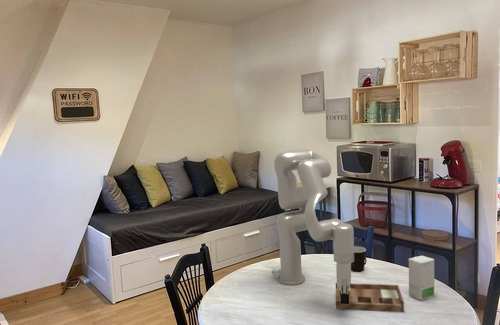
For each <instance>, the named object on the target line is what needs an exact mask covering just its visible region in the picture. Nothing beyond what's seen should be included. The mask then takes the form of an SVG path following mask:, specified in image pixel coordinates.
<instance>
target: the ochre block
mask: <svg viewBox="0 0 500 325" xmlns="http://www.w3.org/2000/svg"><path fill="white" fill-rule="evenodd" d="M340 292H341V288H339V301H341V299H340ZM348 292H349V302H351V290H350V289H348Z"/></svg>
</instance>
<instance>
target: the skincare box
mask: <svg viewBox="0 0 500 325" xmlns="http://www.w3.org/2000/svg"><path fill="white" fill-rule="evenodd" d="M408 296H410V297H411V298H414V299H416V300H419V301H425V300H427V299H430V298H435V259H434V258H432V257H429V256H425V255H419V256H414V257H411V258H408Z"/></svg>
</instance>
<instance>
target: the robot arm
mask: <svg viewBox="0 0 500 325" xmlns="http://www.w3.org/2000/svg"><path fill="white" fill-rule="evenodd" d="M273 162H274V163H273V166H274V172H275V175H276V180H277V194H278V196H277V197H278V204H279V206H280V209H281V210H291V211H286V212H282V213H281V214H278V216H277V218H276V222H275V223H276V227H277V233H278V239H279V243H278V244H279V259H280V260H279V261H280V264H279V265H280V269H278V270H277V269H271V272H270V273H271V275H272V276H274V277H277V281H278V282H279V283H281V284H283V285H287V286H294V285H301V284H302V283H304V282H306V276H305V275H304V274H303V273H302V250H301V249H302V248H301V247H302V246H301V240H300V238H299V237H298V236H297V234H296V233H299V232H303V231H308V234H309V236H310V238H311V239H312V240H313V241H315V242H319V243H320V242H325V241H328V240H333V242H332V244H333V262H334V263H336V268H335V269H336V283H337V288H338V289H339V288H341V292H340V299H341V304H349V292H348V289H350V284H352V283H351V281H352V271H351V263H352V262H354V247H355V238H354V237H355V236H354V234H355V232H354V230H355V229H354V227H353V225H352V224H351V223H345V222H343V221H342V220H341V219H339V218H331V219H325V220H320V221H319V220H318V217H317V215H316V206H317V205H318V203H320V201H322V200H323V199H325V198H326V196H328V193H329V192H328V189H327V188H326V184H325V182H324V178H328V177H330V175H331V174H332V166H331V164H330V161H328V160H327V159H326V158H325V157H324V156H323V155H320V154H318V153H317V152H315V151H313V150H312V149H298V150H289V151H283V152H280V153H278V154H277V155H276V156H275V158H274V160H273ZM294 171H296V172H297V175H298V177H299V179H300V182H301V185H300V186H298V185H297V184H298V182H297V176H296V175H295V173H294ZM294 209H299V210H294Z"/></svg>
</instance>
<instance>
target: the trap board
mask: <svg viewBox="0 0 500 325" xmlns="http://www.w3.org/2000/svg"><path fill="white" fill-rule="evenodd" d="M350 290H351V302H349V304H341V301H339V289H338V288H337V282H336V283H335V309H336V310H346V311H347V310H349V311H351V310H352V311H373V312H392V313H393V312H394V313H396V312H397V313H404V312H405V311H404V310H405V309H404V308H405V305H404V304H405V301H404V298H403V295H402V291H401V290H400V286H399V284H382V283H381V284H373V283H351V284H350Z"/></svg>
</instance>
